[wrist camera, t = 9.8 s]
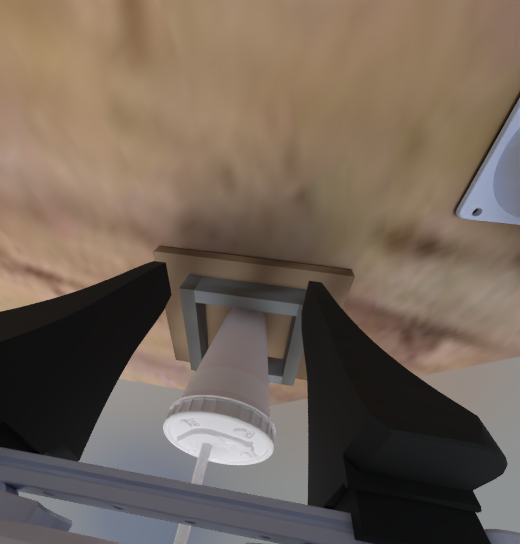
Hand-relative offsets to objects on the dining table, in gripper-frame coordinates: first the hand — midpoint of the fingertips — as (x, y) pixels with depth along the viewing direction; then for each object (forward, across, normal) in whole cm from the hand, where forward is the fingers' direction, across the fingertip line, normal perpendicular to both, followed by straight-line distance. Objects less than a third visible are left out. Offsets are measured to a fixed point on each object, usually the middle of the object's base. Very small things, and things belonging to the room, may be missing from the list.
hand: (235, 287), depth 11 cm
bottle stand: (+7, 0, +9) cm, 11 cm away
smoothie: (+6, 0, +8) cm, 10 cm away
